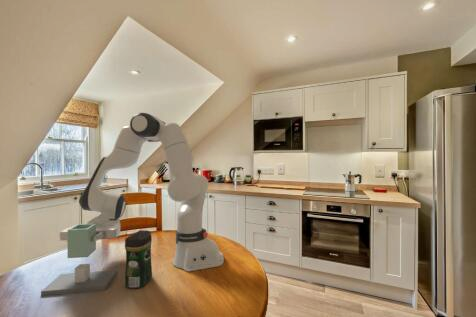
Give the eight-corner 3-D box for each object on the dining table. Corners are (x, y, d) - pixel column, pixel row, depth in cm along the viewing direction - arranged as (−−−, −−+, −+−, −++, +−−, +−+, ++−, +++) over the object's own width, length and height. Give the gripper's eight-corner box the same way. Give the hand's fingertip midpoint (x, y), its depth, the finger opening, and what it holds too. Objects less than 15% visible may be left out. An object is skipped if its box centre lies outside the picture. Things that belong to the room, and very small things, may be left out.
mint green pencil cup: (95, 249, 85) (96, 223, 85) (87, 257, 79) (87, 229, 79) (77, 250, 84) (77, 224, 84) (67, 258, 78) (67, 229, 78)
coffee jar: (135, 274, 88) (136, 228, 88) (154, 275, 87) (155, 229, 87) (120, 289, 79) (120, 236, 78) (141, 290, 78) (141, 238, 78)
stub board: (117, 273, 89) (117, 257, 89) (105, 290, 78) (105, 271, 78) (61, 277, 85) (61, 261, 85) (41, 295, 74) (41, 276, 74)
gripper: (71, 221, 92) (48, 232, 79) (123, 219, 96) (111, 229, 82) (71, 236, 92) (48, 250, 79) (123, 233, 96) (111, 246, 82)
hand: (81, 239), depth 81 cm, fingers closed on mint green pencil cup, 6 cm apart
